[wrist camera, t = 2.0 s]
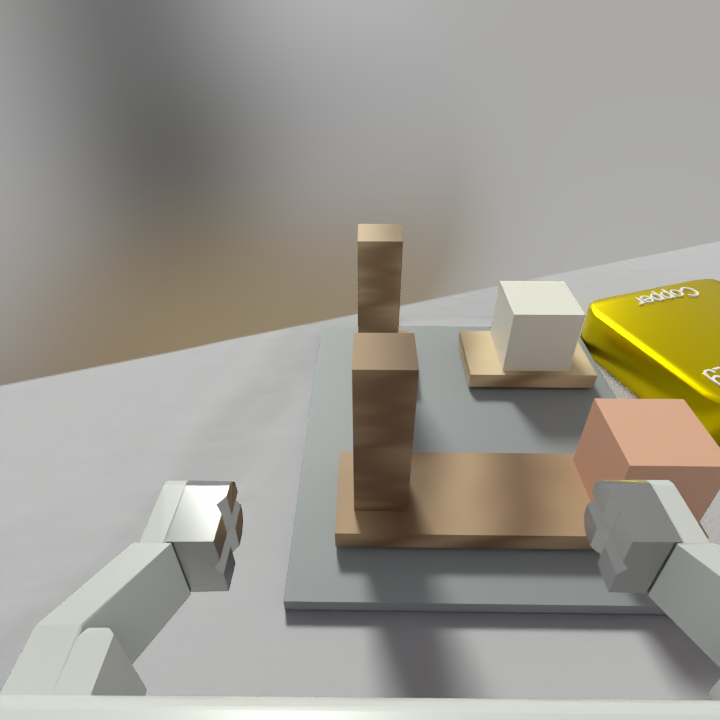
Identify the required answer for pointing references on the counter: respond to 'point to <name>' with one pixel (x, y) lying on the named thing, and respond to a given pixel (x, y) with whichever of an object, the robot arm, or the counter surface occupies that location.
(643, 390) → the element tile
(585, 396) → the slate board
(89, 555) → the counter surface
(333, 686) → the counter surface
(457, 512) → the wooden l-shaped stand
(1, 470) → the counter surface
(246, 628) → the counter surface
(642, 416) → the terracotta block
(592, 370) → the broken oak strip
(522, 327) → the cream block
